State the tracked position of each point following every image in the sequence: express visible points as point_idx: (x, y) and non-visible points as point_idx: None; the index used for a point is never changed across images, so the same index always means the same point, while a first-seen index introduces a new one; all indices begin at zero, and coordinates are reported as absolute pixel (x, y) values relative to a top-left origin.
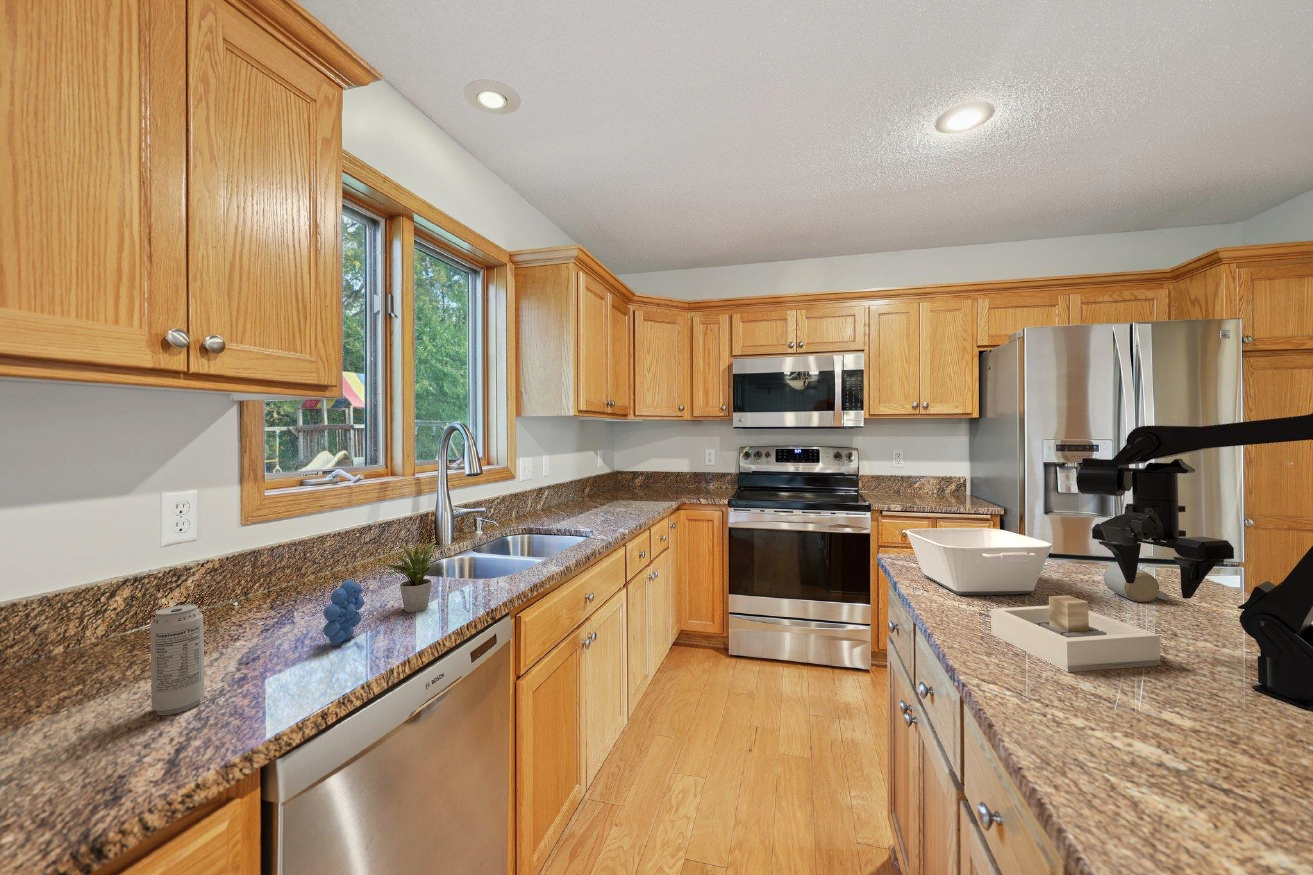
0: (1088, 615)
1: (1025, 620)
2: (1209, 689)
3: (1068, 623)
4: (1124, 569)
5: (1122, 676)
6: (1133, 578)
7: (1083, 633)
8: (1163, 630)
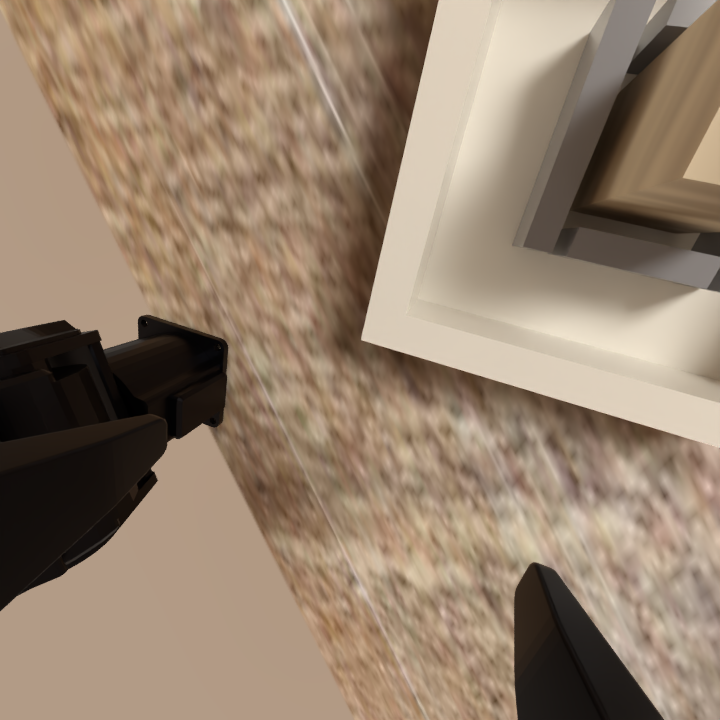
0: (629, 194)
1: None
2: (252, 250)
3: (687, 31)
4: (604, 698)
5: (382, 90)
6: (521, 630)
7: (584, 112)
8: None
